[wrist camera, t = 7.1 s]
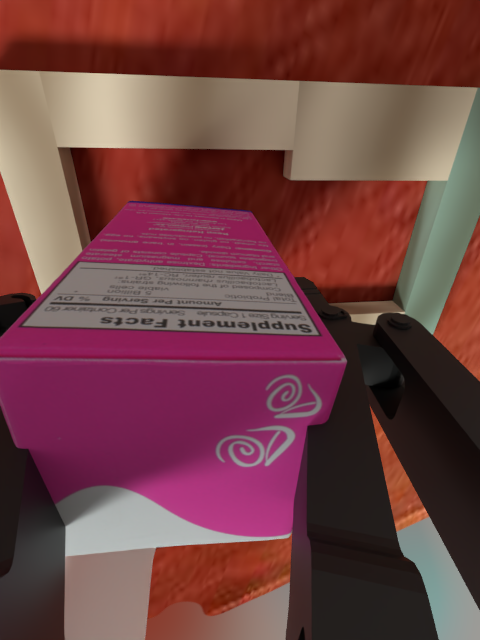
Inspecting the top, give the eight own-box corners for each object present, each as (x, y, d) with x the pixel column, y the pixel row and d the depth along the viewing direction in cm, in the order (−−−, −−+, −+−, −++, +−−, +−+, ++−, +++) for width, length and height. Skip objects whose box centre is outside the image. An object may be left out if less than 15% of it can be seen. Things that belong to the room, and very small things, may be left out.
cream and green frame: (77, 365, 21) (70, 380, 19) (-12, 73, 13) (-35, 68, 12) (411, 345, 23) (423, 357, 22) (501, 92, 16) (529, 89, 14)
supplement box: (244, 316, 18) (292, 549, 8) (133, 311, 17) (36, 563, 7) (258, 207, 15) (360, 367, 5) (125, 196, 14) (-58, 357, 4)
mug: (109, 583, 36) (76, 761, 26) (34, 567, 33) (-39, 767, 23) (173, 535, 33) (164, 720, 23) (97, 511, 29) (45, 719, 19)
